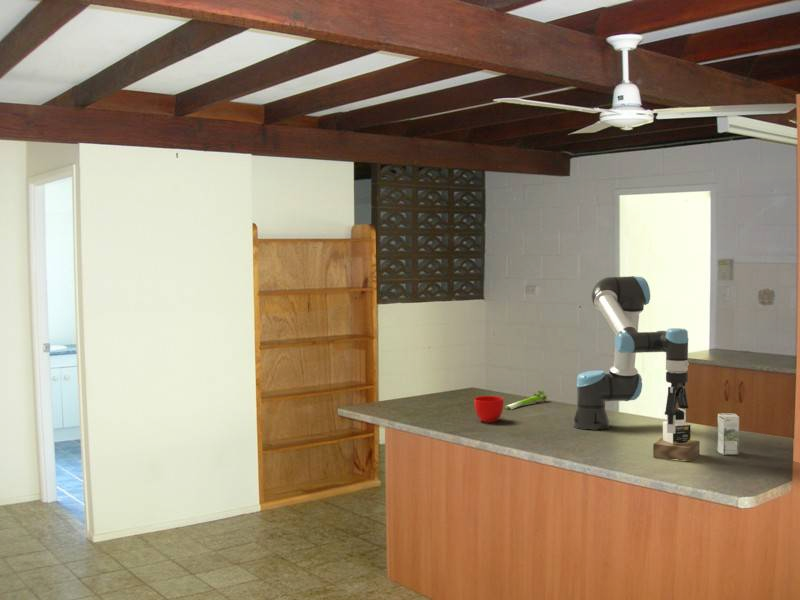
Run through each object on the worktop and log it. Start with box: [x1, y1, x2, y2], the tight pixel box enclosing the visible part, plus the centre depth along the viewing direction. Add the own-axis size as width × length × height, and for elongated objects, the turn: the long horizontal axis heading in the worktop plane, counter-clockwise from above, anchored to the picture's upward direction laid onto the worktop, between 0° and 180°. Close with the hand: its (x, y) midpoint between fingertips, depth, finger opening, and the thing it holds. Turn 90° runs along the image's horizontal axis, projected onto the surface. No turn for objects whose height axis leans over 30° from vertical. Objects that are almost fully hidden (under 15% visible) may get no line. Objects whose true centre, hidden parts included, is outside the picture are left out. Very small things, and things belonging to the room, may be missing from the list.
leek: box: [504, 390, 548, 410], centre depth 412 cm, size 6×7×30 cm
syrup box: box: [716, 412, 740, 456], centre depth 312 cm, size 6×6×14 cm
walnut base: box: [652, 437, 701, 462], centre depth 309 cm, size 13×13×5 cm
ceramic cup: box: [473, 395, 505, 423], centre depth 378 cm, size 13×17×10 cm
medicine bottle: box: [662, 408, 691, 445], centre depth 309 cm, size 7×7×12 cm
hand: (676, 429), depth 309 cm, fingers open, 13 cm apart
